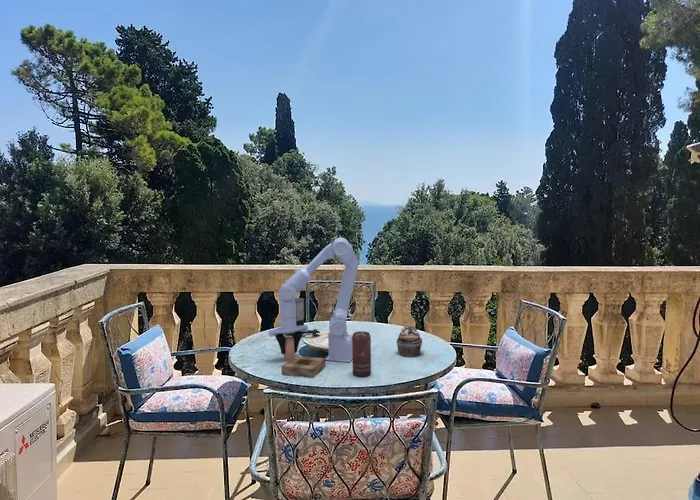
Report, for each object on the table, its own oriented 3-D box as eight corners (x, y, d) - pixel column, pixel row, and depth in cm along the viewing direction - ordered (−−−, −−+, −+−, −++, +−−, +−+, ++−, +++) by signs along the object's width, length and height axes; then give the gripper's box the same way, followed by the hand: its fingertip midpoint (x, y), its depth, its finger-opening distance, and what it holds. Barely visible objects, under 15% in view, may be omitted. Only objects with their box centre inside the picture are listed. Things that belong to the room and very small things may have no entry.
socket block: (325, 366, 182) (325, 358, 182) (313, 377, 171) (313, 369, 171) (295, 363, 186) (295, 355, 185) (281, 374, 175) (281, 365, 174)
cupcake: (392, 351, 199) (392, 325, 198) (416, 349, 202) (416, 323, 200) (401, 358, 190) (401, 331, 189) (426, 356, 192) (426, 329, 191)
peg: (296, 358, 192) (295, 336, 191) (292, 361, 188) (291, 339, 188) (286, 357, 193) (285, 336, 193) (281, 360, 190) (281, 339, 189)
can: (370, 370, 178) (369, 330, 176) (371, 377, 171) (371, 335, 170) (352, 371, 177) (351, 330, 176) (353, 377, 171) (352, 336, 170)
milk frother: (284, 330, 232) (283, 297, 230) (320, 329, 232) (319, 296, 231) (282, 339, 218) (281, 304, 216) (320, 338, 218) (319, 303, 217)
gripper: (302, 311, 196) (303, 347, 198) (265, 316, 189) (266, 352, 191) (309, 315, 190) (310, 352, 191) (271, 320, 183) (272, 358, 185)
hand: (289, 352), depth 191 cm, fingers closed on peg, 4 cm apart
